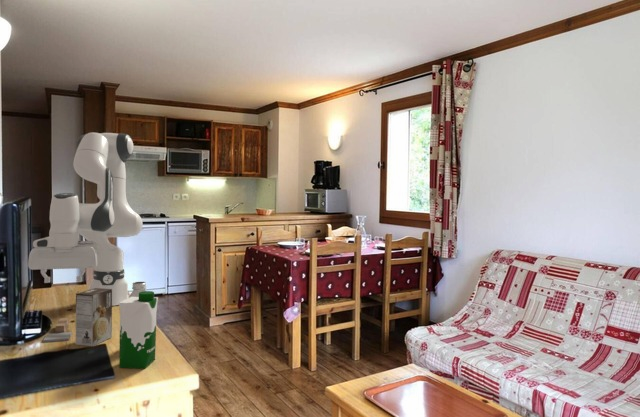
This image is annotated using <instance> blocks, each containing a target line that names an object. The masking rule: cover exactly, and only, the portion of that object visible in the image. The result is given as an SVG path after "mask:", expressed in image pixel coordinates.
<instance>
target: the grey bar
mask: <svg viewBox="0 0 640 417" xmlns="http://www.w3.org/2000/svg"><path fill="white" fill-rule="evenodd" d="M69 322H70V320H69V317H59V320H58V322H57V323H56V324H55V326H54V327H55V328H54V330H55V332H50V333H46V335H45V337H44V338H43V340H42V343H51V342H52V343H55V342H64V341H65V342H67V341H69V340H70V338H71V336H72V335H73V333H72V331H67V329H68V328H69Z"/></svg>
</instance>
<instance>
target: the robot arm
mask: <svg viewBox="0 0 640 417" xmlns="http://www.w3.org/2000/svg"><path fill="white" fill-rule="evenodd" d="M133 142H134V141H133V139H132V137H131V136H130V135H129V134H127V133H121V132H120V133H115V132H114V133H113V132H101V133H99V132H88V133H85V134H82V135H80V136H79V137H78V138H77V139H76V143H75V148H76V151H75V155H74V158H73V165H72V166H73V169H74V171H75V173H76V174H77V175H78V176H80V177H81V178H82V179H84V180H85V181H88V182H91V183H94V184H96V186H97V188H96V196H97V198H98V199H99V201H98V202H96V203H83V202H82V203H81V202H80V201H79V196H78V194H75V193H72V192H63V193H62V192H60V193H56V194H54V195H52V197H51V203H50V209H49V223H50V229H49V232H48V235H49V236H45V237H42V238H39V239H35V240H34V241H33V242H32V247H33V248H32V249H31V251H30V252H29V254H28V262H27V266H28V267H27V268H28V269H29V270H33V271H34V270H40V274H41V276H42V277H43V278H44V282H43V283H44V284H49V283H51V276H48V275H47V274H46V273H47V271H48V270H61V269H62V270H64V269H65V270H66V269H67V270H68V269H69V270H70V269H80V272H81V273H80V274H79V275H77V276H76V282H78V283H81V282H83V275H84V274H85V273H86V270H87V269H94V270H93V272H92V276H93V278H92V279H93V280H92V281H91V282H90V283H89V286H88V290H91V289H94V288H102V289H112V307H114V306H119V302H121V301H123V300H126V299H128V297H129V296H130V294H128V293H129V290H128V289H129V288H128V284H129V283H128V282H127V281H126V280H125V279H124V278H125V269H124V252H123V249H122V248H120V247H119V246H116V245H114V244H112V243H111V242H110V240H109V238H130V237H135V236H138V235H139V234H140V233H141V231H142V230H143V222H144V221H143V219H142V217H141V216H140V215H139V214H138V213H137V212H136V211H134V210H133V209H132V207H131V206H130V204H129V203H128V199H127V193H126V192H127V188H126V187H127V185H126V183H127V170H126V162H127V161H128V159H130V158H131V157H132V155H133V154H134V153H133V152H134V149H135V148H134V143H133ZM80 236H82V238H84V239H85V240H80Z"/></svg>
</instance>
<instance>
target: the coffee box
mask: <svg viewBox="0 0 640 417" xmlns="http://www.w3.org/2000/svg"><path fill="white" fill-rule="evenodd" d="M112 324H113V306H112V289H102V288H94V289H91V290H89V289H88V290H84V291H81V292H78V293H75V345H78V346H86V347H94V346H96V345H98V344H100V343H102V342H105V341H107V340H109V339H111V338H113V334H112V333H113V332H112V331H113V327H112V326H113V325H112Z"/></svg>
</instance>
